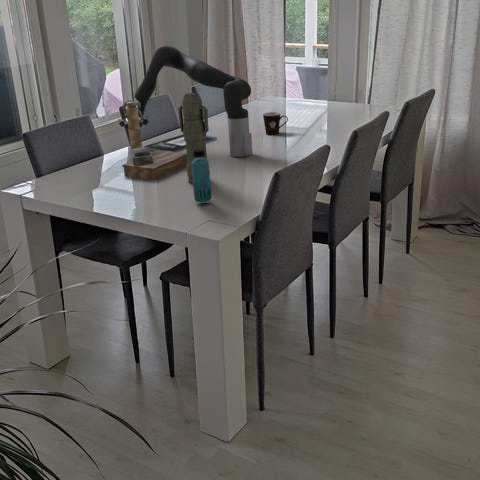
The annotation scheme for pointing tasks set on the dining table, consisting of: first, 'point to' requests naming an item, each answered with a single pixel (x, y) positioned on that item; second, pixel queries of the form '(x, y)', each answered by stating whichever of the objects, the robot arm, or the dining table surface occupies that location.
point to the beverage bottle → (201, 177)
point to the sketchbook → (174, 144)
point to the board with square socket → (154, 164)
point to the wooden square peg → (133, 125)
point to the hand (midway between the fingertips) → (133, 125)
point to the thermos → (193, 127)
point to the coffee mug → (272, 122)
